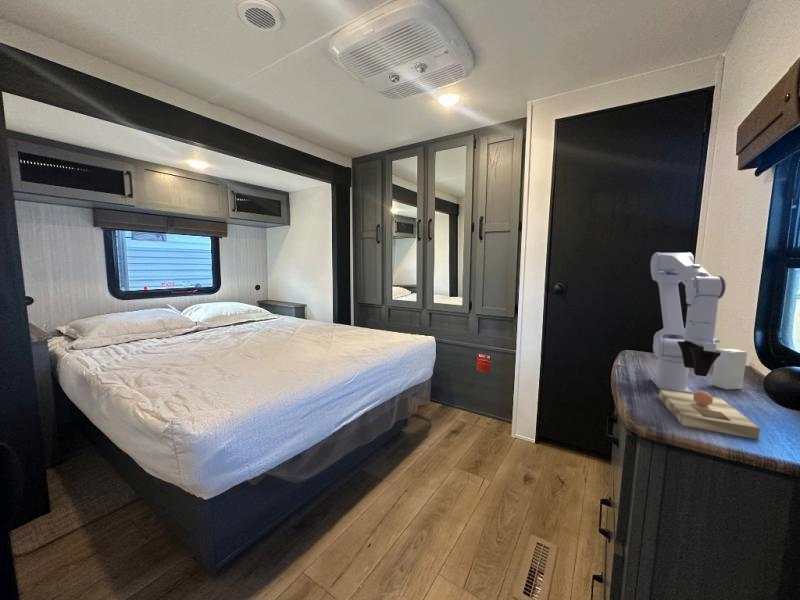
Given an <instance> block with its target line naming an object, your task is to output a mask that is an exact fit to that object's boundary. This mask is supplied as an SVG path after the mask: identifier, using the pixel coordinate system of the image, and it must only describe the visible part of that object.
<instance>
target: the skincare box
mask: <svg viewBox="0 0 800 600" xmlns="http://www.w3.org/2000/svg"><path fill="white" fill-rule="evenodd" d="M716 351H719V352H721V355H720V356H719V357H718V358H717V359H716V360H715V361H714V362H713V370H712V378H711V385H712V386H714V385H715V386H714V387H716V386H717V387H716V388H719V387H720V388H719V389H722V388H723V389H722V390H742V389H743V385H744V377H745V370H746V362H747V357H748V351H746V350H741V349H737V348H716Z"/></svg>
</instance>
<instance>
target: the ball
mask: <svg viewBox="0 0 800 600" xmlns="http://www.w3.org/2000/svg"><path fill="white" fill-rule="evenodd" d="M693 394H694V396H693V398H694V401H695V402H696V403H697V404H699V405H702V406H708V405H711V404H712V402H713V398H712V397H713V396H712V395H711V394H710V393H708V392H707V391H705V390H704V391H703V390H699V391H696V392H695V393H693Z"/></svg>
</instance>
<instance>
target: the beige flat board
mask: <svg viewBox="0 0 800 600" xmlns="http://www.w3.org/2000/svg"><path fill="white" fill-rule="evenodd" d="M658 394H659V395H658V399H660V401H661V402H662V403H663V405H664V406H665V407H666V408H667V409H668V410H669V411H670V412H672V413H671V415H673V416H674V417H675V418H677V419H678V420H677V419H676V420H677V421H678V422H679V423H680V425H681V424H682V425H681V426H683V427H688V428H694V429H700V430H705V431H710V432H715V433H722V434H729V435H733V436H738V437H739V436H740V437H745V438H750V439H757V440H759V437H760V431H761V428H760V426H758V425H756V424H755V423H754V422H752V421H751V420H750V419H749V418H747V417H746V416H745V415H743V414H742V413H741V412H739V411H738V410H737V409H736V408H734V407H733V406H732V405H730V404H729V403H727V401H725V400H724V399H722V398H721V397H717V396H712V398H713V402H712V404H711V405H708V406H702V405H699V404H697V403H696V402H695V401H694V398H693V396H694V394H695V393H687V392H680V391H673V390H666V389H660V388H659V393H658Z"/></svg>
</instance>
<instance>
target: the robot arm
mask: <svg viewBox="0 0 800 600" xmlns="http://www.w3.org/2000/svg"><path fill="white" fill-rule="evenodd" d="M649 266H650V273H651V275H650V276H651V278H652V281H655V282H656V283H657V285H658V291H659V298H660V299H659V300H660V307H661V309H660V310H661V316H662V324H663V325H662V326H663V328H662V329H660V330H658V331H656V332H655V334H654V335H653V343H652V351H653V354H654V355H655V356H656V357H657V359H656V361H655V368H654V369H655V370H654V377H650V380H651V381H652V383H653V384H655V386H656V387H657V388H658V389H659V390H660V389H662V390H669V391H676V392H683V393H690V394H693V391H692V390H691V389H690V388H688V387H687V386H688V378H689V372H690V371H689V369H693V371H694V375H695V376H699V377H700V376H701V377H707V376H708V374H709V372H710V370H711V368H712V365H714V362H715V360H716V359H717V358H718V357H719V356H720V355H721V352H719V351H716V349H717V343H720V339H717V338H715V334H716V333H715V330H716V325H717V324H716V323H717V316H718V308H719V307H718V306H719V300H720V299H721V298H723V296H724V295H725V292H726V289H727V288H726V287H727V285H726V281H725V278H724V277H723V276H722V275H716V276H713V275H711V274H710V273H709V272H708V271H707V270H706V269H705V268H703V267H702V265H701V264H699V263H698V264H695V258H694V254H692V252H689V251H688V252H658V251H656V252H654V253H653V254H652V256H651V259H650V265H649ZM679 283H682V284H683V285H684V287H685V296H686V298H685V301H686V304H687V311H686V318H685V320H686V321H685V327H684V320H683V314H682V306H681V305H682V304H681V297H680V292H679V291H680V290H679Z"/></svg>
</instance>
